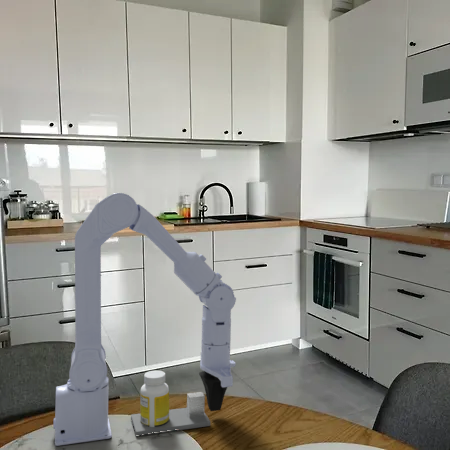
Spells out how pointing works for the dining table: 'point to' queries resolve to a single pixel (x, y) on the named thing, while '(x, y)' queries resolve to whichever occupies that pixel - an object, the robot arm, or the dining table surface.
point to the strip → (178, 417)
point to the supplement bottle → (154, 399)
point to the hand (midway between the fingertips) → (214, 409)
